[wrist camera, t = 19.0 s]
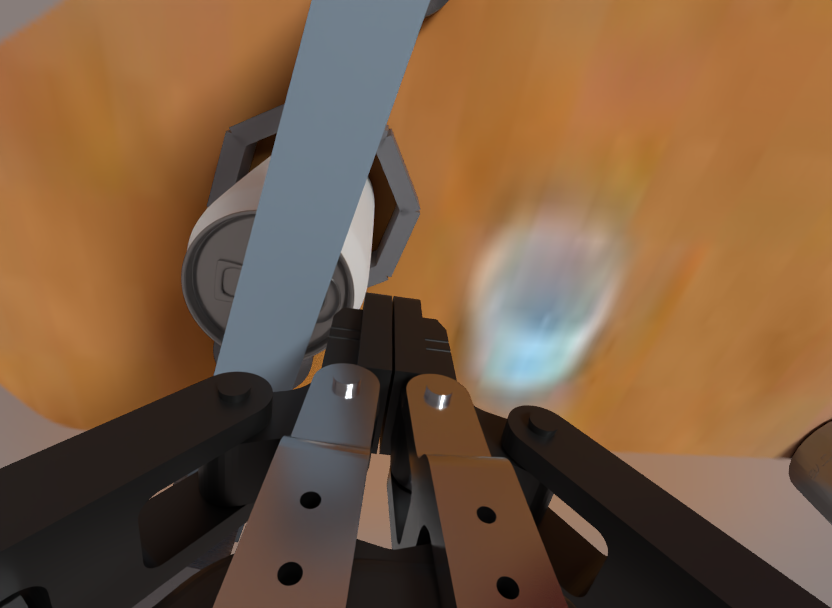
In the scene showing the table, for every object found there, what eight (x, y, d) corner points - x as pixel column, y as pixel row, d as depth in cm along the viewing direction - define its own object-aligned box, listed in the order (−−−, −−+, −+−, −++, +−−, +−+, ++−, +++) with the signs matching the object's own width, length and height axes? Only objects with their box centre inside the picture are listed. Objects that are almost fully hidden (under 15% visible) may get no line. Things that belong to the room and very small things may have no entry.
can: (362, 264, 28) (347, 387, 17) (252, 240, 27) (164, 355, 16) (387, 155, 25) (386, 223, 15) (264, 124, 24) (168, 173, 14)
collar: (440, 149, 25) (445, 157, 23) (371, 302, 29) (370, 322, 27) (257, 64, 23) (243, 64, 21) (209, 242, 27) (193, 258, 25)
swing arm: (373, -408, 8) (368, -546, 6) (579, -268, 9) (629, -352, 7) (166, 472, 16) (139, 522, 14) (281, 498, 17) (269, 548, 15)
